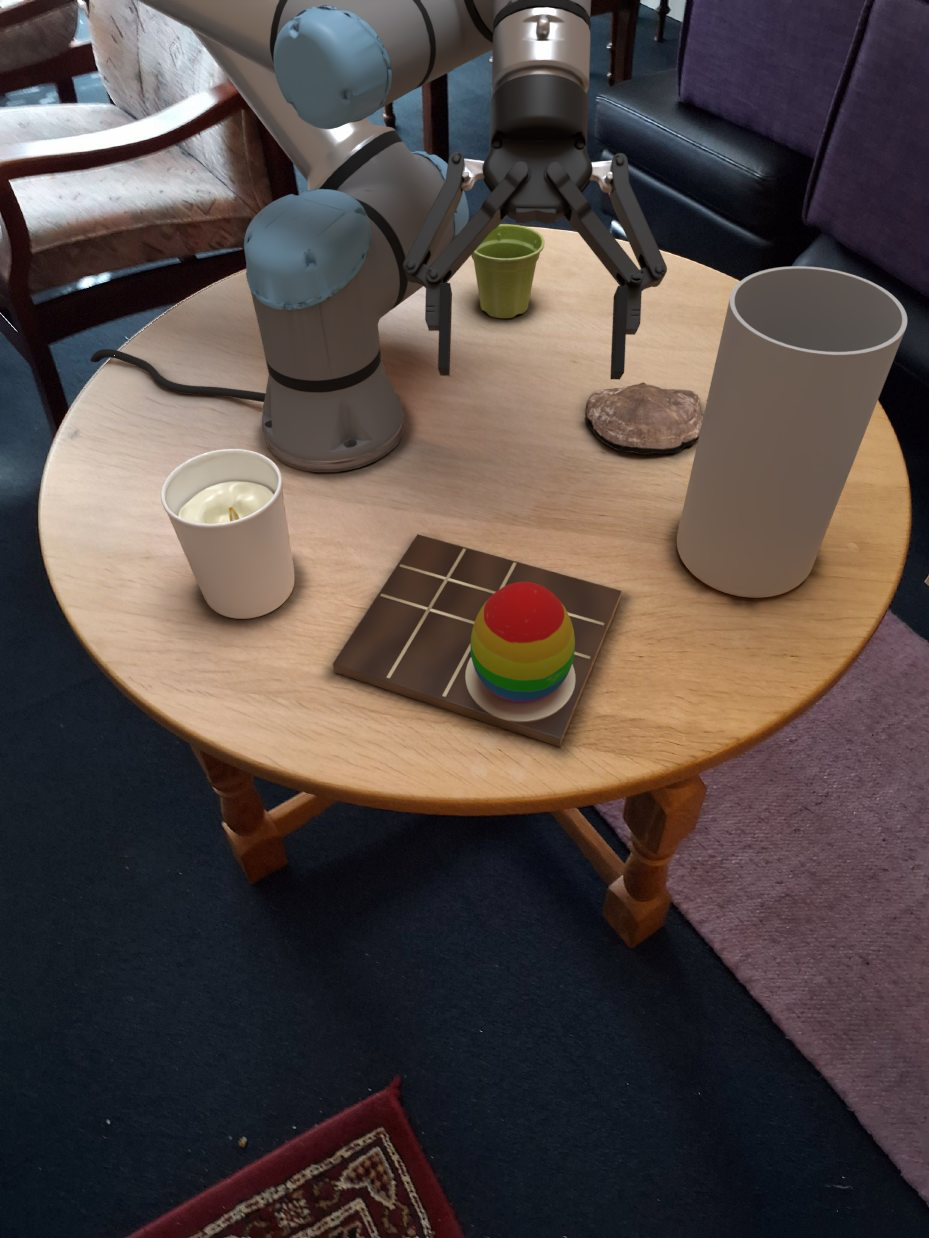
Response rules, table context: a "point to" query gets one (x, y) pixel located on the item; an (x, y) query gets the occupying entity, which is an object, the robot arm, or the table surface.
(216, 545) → the candle holder
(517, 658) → the decorative egg
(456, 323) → the table surface
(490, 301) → the plant pot
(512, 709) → the board
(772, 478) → the cylinder vase
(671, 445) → the shell
